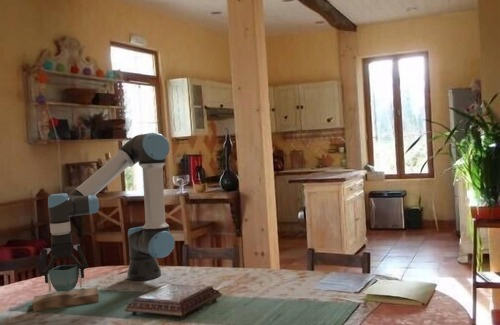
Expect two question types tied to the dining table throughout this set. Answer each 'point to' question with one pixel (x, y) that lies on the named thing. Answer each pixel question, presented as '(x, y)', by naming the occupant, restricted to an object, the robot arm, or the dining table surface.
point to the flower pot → (64, 277)
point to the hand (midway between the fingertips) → (65, 288)
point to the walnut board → (65, 299)
